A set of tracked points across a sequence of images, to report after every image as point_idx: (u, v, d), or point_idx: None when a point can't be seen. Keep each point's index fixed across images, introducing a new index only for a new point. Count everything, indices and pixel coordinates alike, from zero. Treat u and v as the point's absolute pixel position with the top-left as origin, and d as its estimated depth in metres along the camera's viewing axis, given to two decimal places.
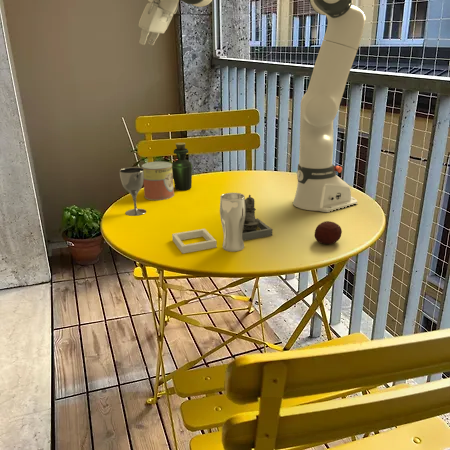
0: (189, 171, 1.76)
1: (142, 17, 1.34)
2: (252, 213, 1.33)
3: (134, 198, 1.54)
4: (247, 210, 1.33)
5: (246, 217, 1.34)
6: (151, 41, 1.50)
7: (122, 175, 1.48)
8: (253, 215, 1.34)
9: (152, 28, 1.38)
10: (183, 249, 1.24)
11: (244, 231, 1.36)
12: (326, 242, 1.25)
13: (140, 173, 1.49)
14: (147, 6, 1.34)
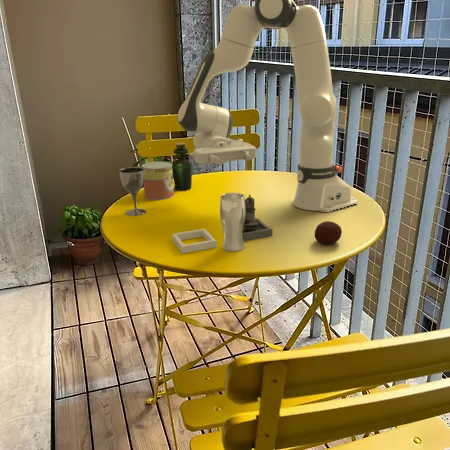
0: (189, 171, 1.76)
1: (195, 161, 1.43)
2: (252, 213, 1.33)
3: (134, 198, 1.54)
4: (247, 210, 1.33)
5: (246, 217, 1.34)
6: (244, 156, 1.41)
7: (122, 175, 1.48)
8: (253, 215, 1.34)
9: (207, 151, 1.41)
10: (183, 249, 1.24)
11: (244, 231, 1.36)
12: (326, 242, 1.25)
13: (140, 173, 1.49)
14: (194, 158, 1.46)
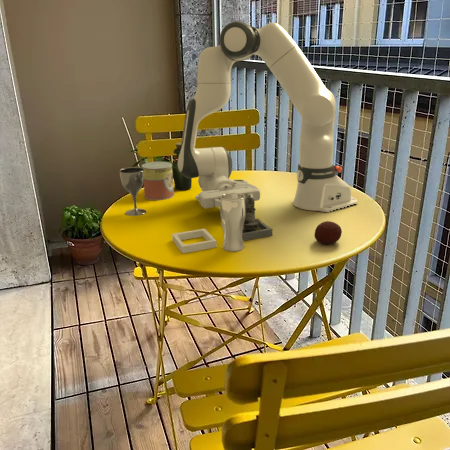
0: None
1: (201, 204, 1.45)
2: (252, 213, 1.33)
3: (134, 198, 1.54)
4: (247, 210, 1.33)
5: (246, 217, 1.34)
6: None
7: (122, 175, 1.48)
8: (253, 215, 1.34)
9: (212, 195, 1.44)
10: (183, 249, 1.24)
11: (244, 231, 1.36)
12: (326, 242, 1.25)
13: (140, 173, 1.49)
14: None
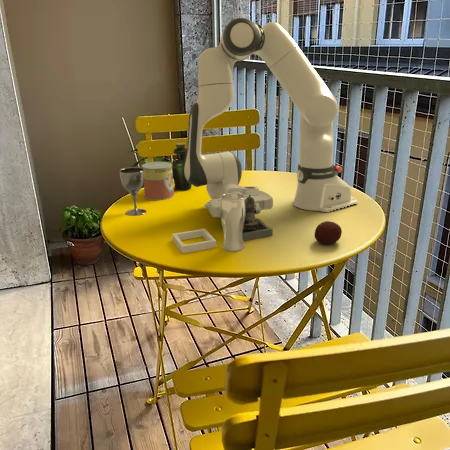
0: None
1: (210, 213, 1.37)
2: (252, 213, 1.33)
3: (134, 198, 1.54)
4: (247, 210, 1.33)
5: (246, 217, 1.34)
6: None
7: (122, 175, 1.48)
8: (253, 215, 1.34)
9: None
10: (183, 249, 1.24)
11: (244, 231, 1.36)
12: (326, 242, 1.25)
13: (140, 173, 1.49)
14: None
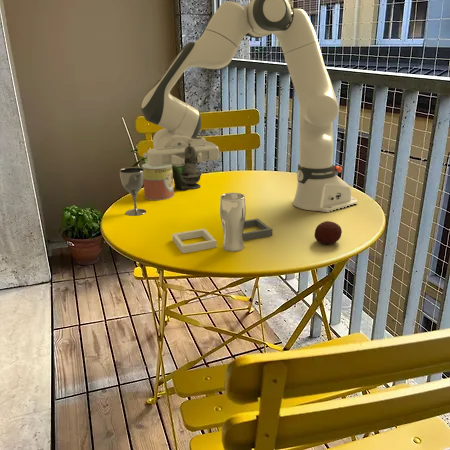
0: None
1: (148, 162, 1.24)
2: (192, 164, 1.20)
3: (134, 198, 1.54)
4: (187, 160, 1.20)
5: (186, 169, 1.21)
6: (196, 158, 1.22)
7: (122, 175, 1.48)
8: (194, 167, 1.21)
9: (161, 152, 1.23)
10: (183, 249, 1.24)
11: (185, 185, 1.23)
12: (326, 242, 1.25)
13: (140, 173, 1.49)
14: None
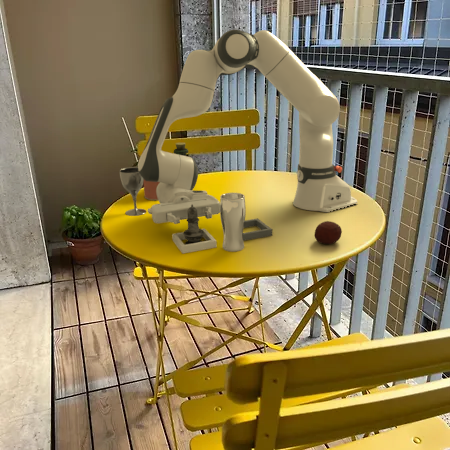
0: None
1: None
2: (195, 224, 1.26)
3: (134, 198, 1.54)
4: (189, 221, 1.26)
5: (189, 228, 1.27)
6: (206, 214, 1.28)
7: (122, 175, 1.48)
8: (196, 226, 1.27)
9: (165, 209, 1.28)
10: (183, 249, 1.24)
11: (188, 242, 1.29)
12: (326, 242, 1.25)
13: None
14: None
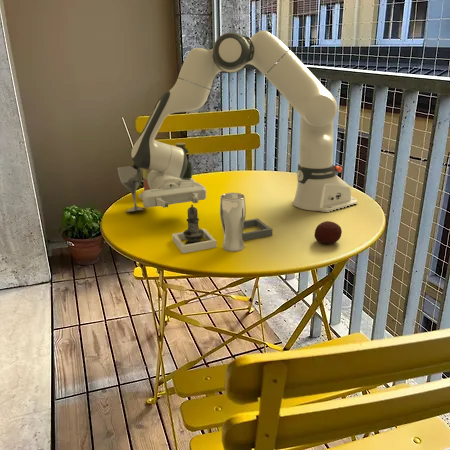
0: (189, 171, 1.76)
1: (143, 203, 1.40)
2: (195, 224, 1.26)
3: (133, 195, 1.55)
4: (189, 221, 1.26)
5: (189, 228, 1.27)
6: (192, 199, 1.38)
7: (120, 170, 1.51)
8: (196, 226, 1.27)
9: (154, 194, 1.38)
10: (183, 249, 1.24)
11: (188, 242, 1.29)
12: (326, 242, 1.25)
13: None
14: None
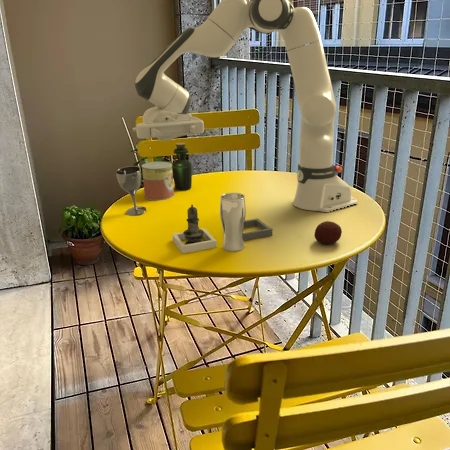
0: (189, 171, 1.76)
1: (137, 135, 1.32)
2: (195, 224, 1.26)
3: (133, 197, 1.53)
4: (189, 221, 1.26)
5: (189, 228, 1.27)
6: (189, 130, 1.31)
7: (120, 177, 1.47)
8: (196, 226, 1.27)
9: (149, 125, 1.31)
10: (183, 249, 1.24)
11: (188, 242, 1.29)
12: (326, 242, 1.25)
13: (138, 173, 1.48)
14: None
